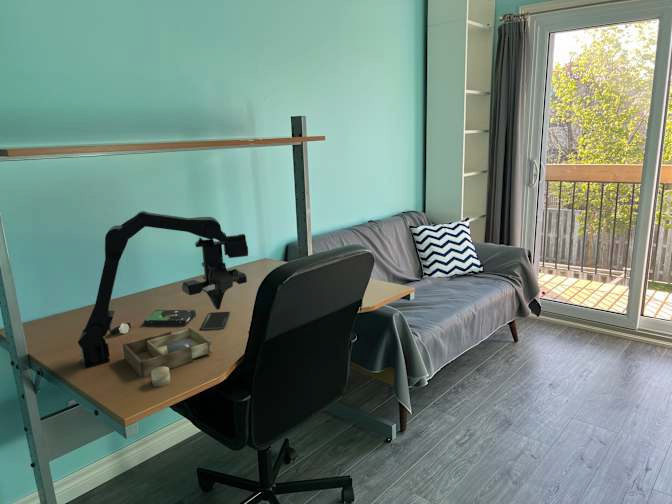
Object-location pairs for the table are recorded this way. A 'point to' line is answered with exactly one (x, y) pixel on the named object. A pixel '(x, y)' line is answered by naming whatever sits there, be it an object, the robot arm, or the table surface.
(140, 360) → the housing
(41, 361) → the table surface
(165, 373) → the stand
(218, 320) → the phone
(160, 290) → the table surface
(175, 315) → the disk drive
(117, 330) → the watch
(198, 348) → the tray
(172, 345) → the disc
